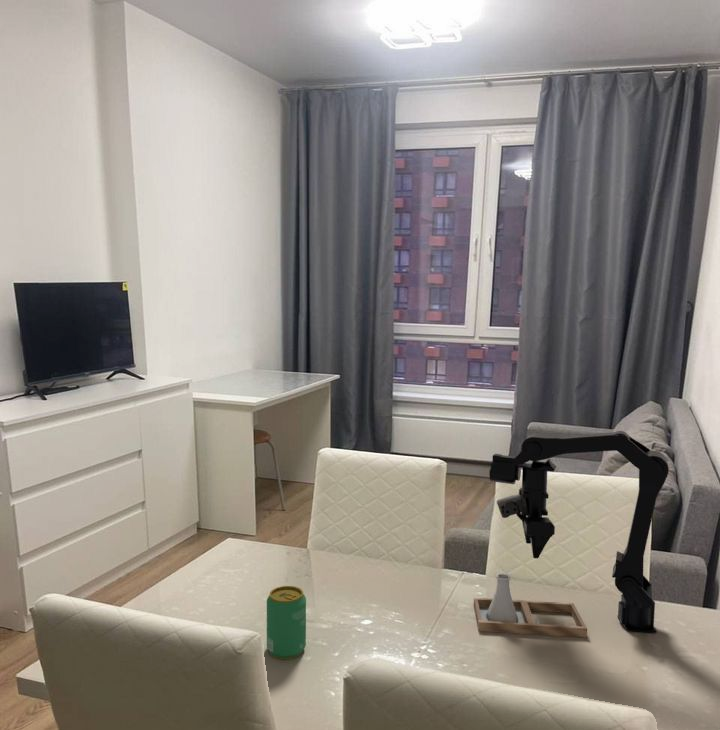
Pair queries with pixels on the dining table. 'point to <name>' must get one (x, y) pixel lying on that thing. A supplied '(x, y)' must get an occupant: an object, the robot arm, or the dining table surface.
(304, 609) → the beverage can
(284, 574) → the dining table surface
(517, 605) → the caddy
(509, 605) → the flask
